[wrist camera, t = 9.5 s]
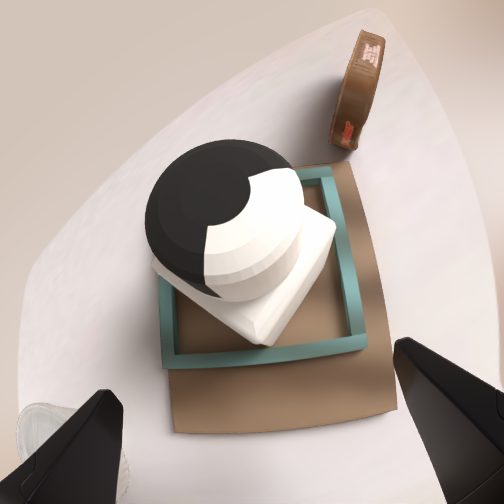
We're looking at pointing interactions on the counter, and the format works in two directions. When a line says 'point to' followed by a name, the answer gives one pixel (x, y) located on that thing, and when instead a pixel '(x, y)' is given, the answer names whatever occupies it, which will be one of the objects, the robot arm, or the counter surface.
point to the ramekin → (46, 424)
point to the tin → (357, 91)
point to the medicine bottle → (237, 235)
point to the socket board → (290, 339)
